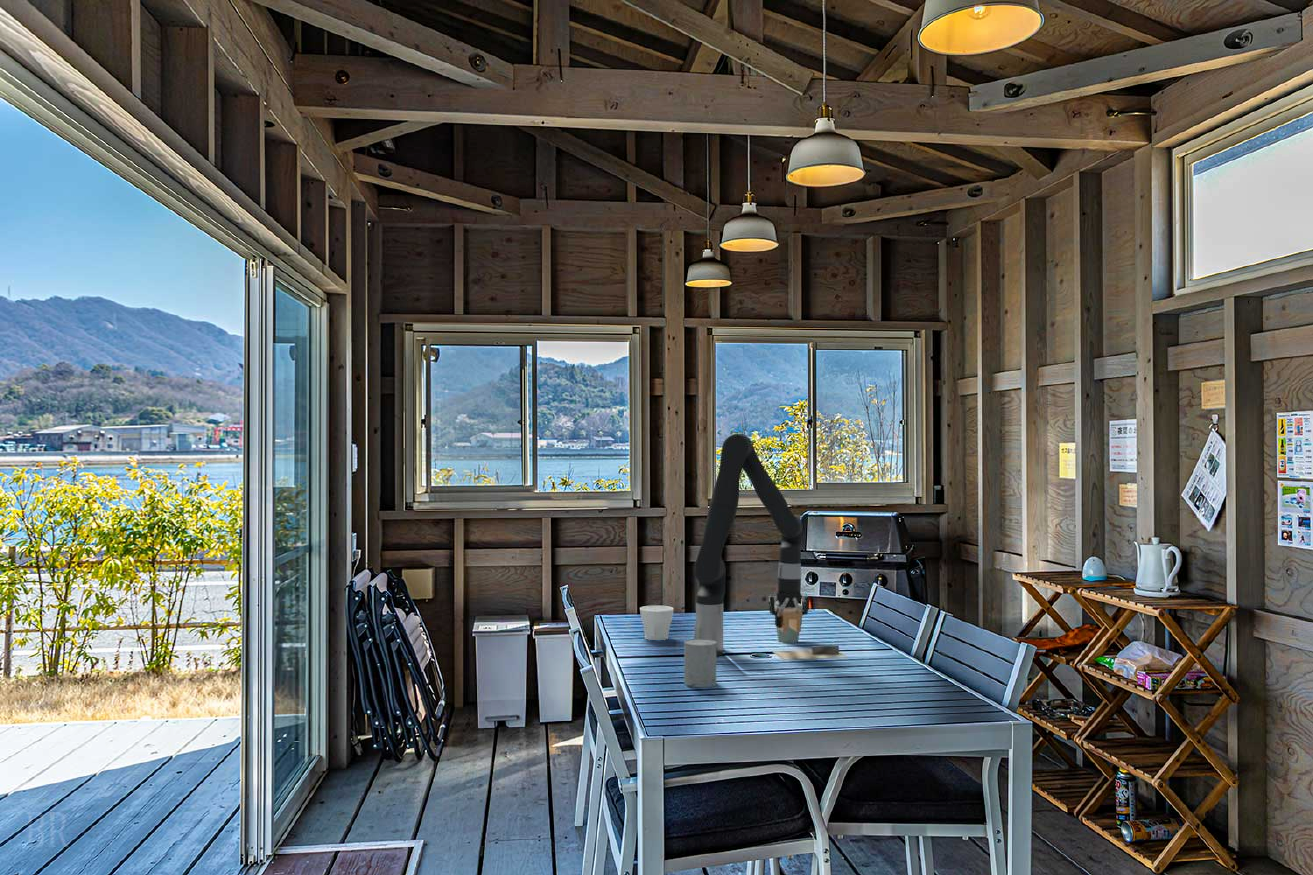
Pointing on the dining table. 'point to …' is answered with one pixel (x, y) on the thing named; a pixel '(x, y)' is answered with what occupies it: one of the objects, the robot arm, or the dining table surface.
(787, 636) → the disposable coffee cup
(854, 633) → the dining table surface
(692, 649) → the grey cylinder
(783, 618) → the cardboard box
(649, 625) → the cup
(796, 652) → the board
